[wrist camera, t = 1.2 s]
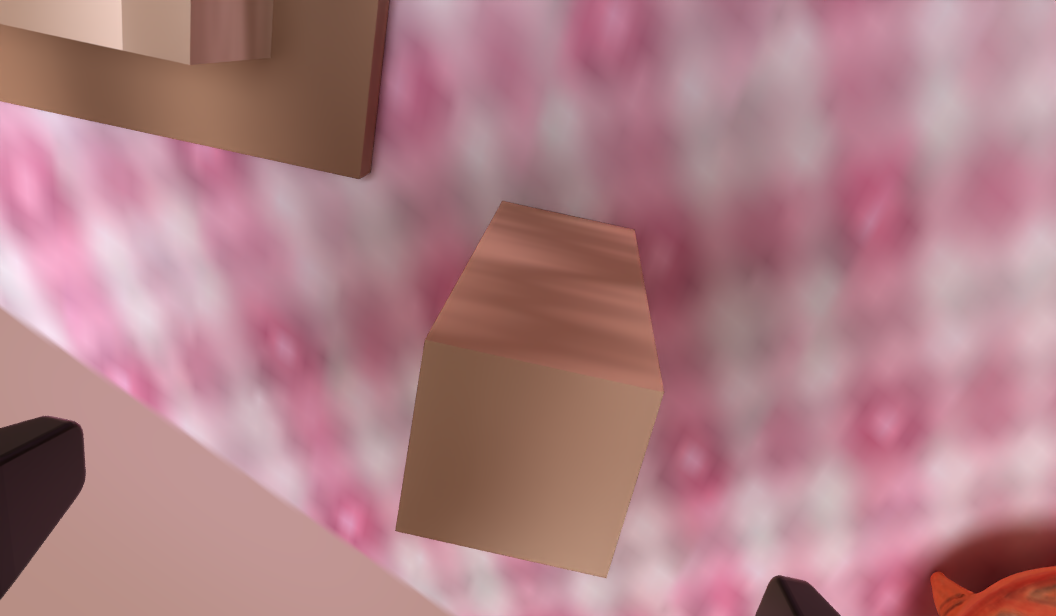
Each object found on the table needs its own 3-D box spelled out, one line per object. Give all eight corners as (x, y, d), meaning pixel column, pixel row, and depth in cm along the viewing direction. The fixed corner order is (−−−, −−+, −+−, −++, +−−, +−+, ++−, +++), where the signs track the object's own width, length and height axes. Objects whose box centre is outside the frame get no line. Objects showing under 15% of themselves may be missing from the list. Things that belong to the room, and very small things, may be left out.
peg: (634, 229, 21) (664, 392, 11) (602, 348, 22) (606, 578, 13) (502, 200, 21) (424, 339, 11) (479, 321, 22) (395, 531, 13)
